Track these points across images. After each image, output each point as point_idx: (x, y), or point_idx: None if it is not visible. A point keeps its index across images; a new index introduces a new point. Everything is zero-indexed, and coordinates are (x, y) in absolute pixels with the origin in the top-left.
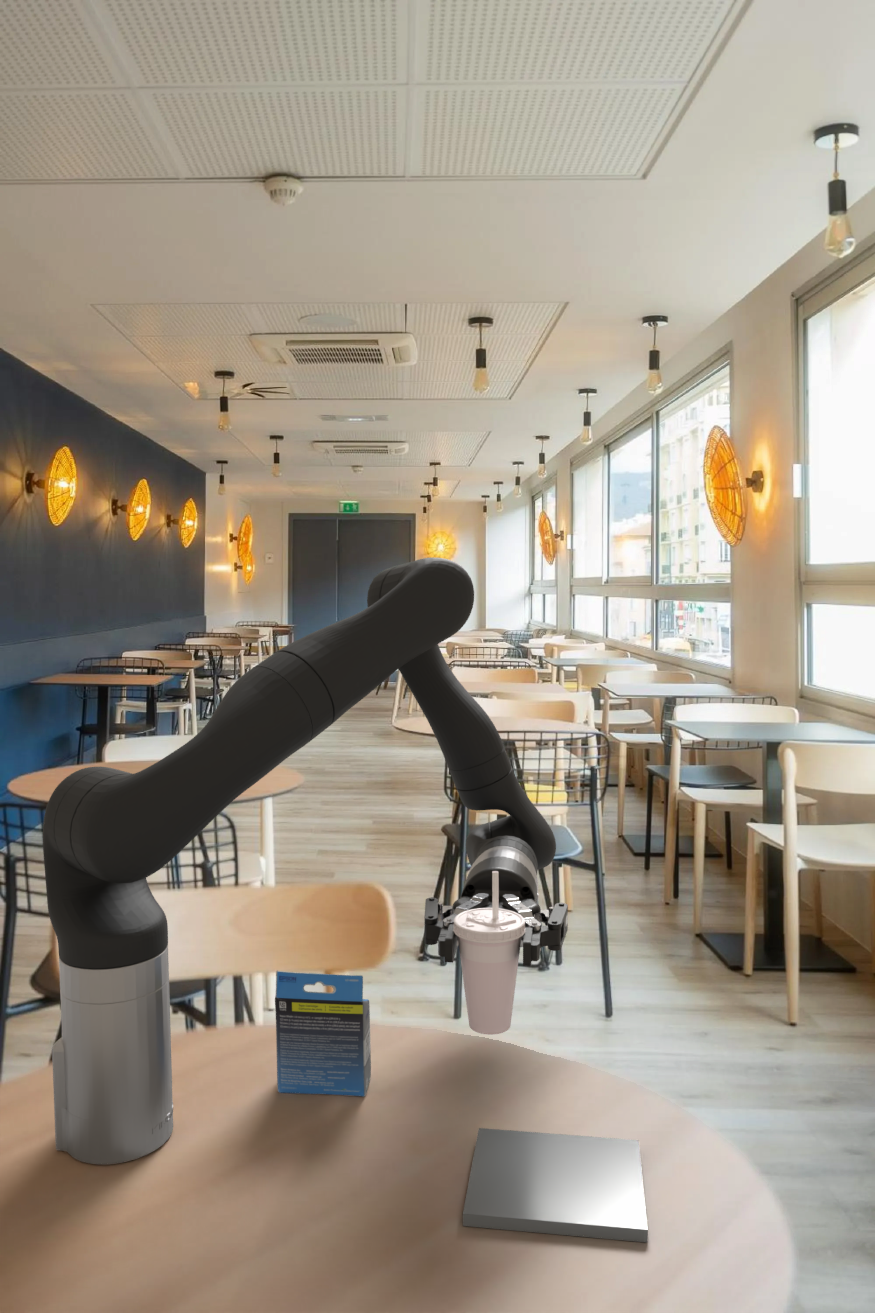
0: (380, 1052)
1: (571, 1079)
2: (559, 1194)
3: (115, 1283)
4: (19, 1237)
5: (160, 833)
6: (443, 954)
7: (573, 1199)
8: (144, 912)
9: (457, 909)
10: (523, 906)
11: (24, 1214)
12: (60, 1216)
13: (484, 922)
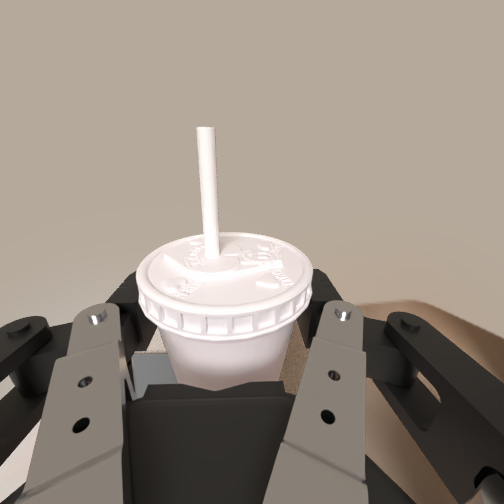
0: None
1: None
2: (176, 378)
3: (392, 309)
4: (469, 324)
5: None
6: None
7: (167, 375)
8: None
9: (355, 349)
10: (60, 397)
11: (493, 337)
12: (474, 338)
13: (237, 245)
